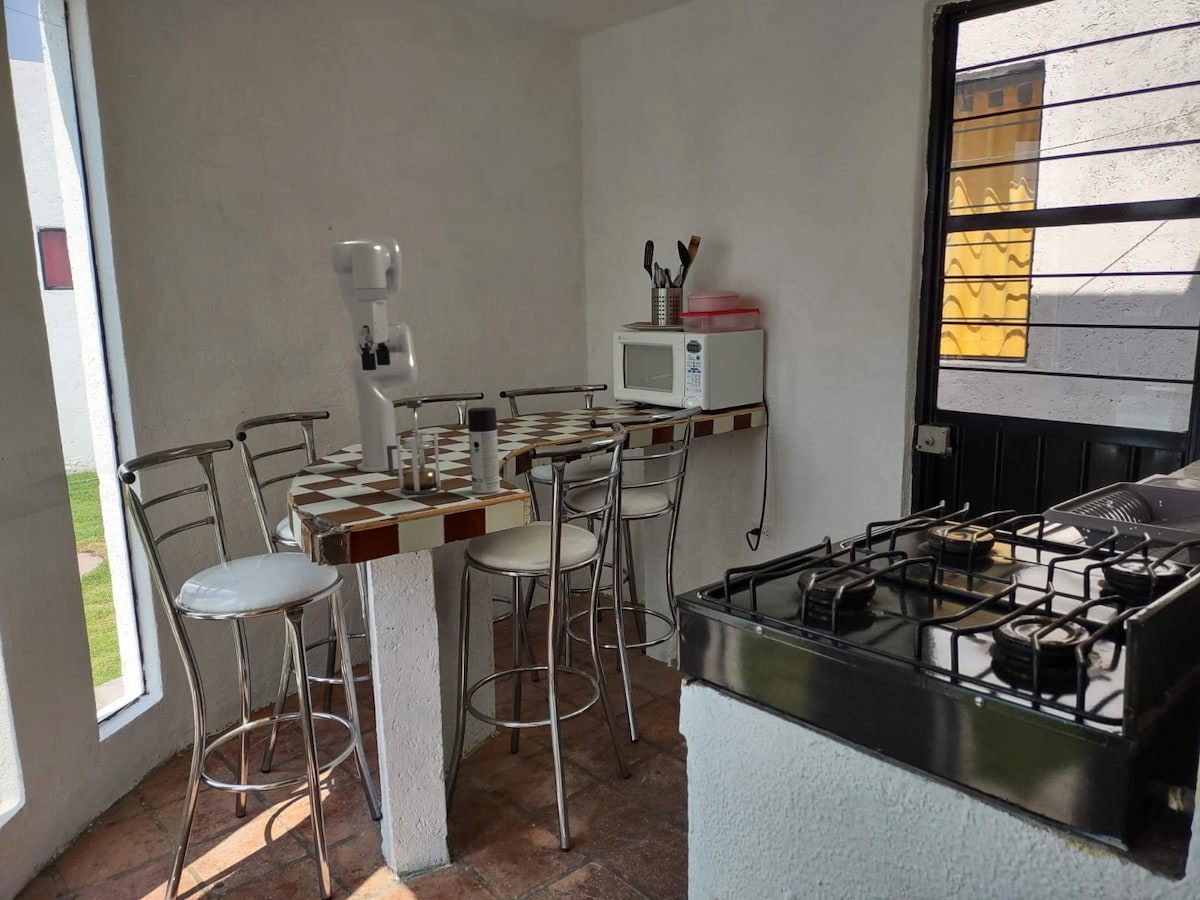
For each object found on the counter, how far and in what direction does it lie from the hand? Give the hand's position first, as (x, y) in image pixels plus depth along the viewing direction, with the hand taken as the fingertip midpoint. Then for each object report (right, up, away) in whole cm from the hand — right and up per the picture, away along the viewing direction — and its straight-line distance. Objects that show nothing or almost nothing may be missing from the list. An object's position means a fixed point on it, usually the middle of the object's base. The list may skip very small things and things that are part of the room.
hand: (376, 367), depth 211 cm
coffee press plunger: (+10, -19, -2) cm, 22 cm away
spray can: (+27, -30, -3) cm, 41 cm away
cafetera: (+9, -30, 0) cm, 32 cm away
